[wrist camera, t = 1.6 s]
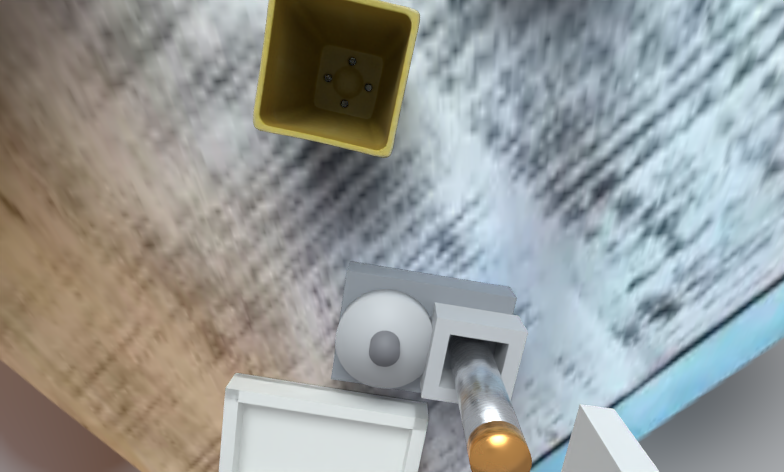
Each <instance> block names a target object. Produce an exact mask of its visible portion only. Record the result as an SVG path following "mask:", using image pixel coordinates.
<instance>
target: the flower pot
mask: <svg viewBox="0 0 784 472" xmlns="http://www.w3.org/2000/svg"><path fill="white" fill-rule="evenodd" d="M419 22H420V14H419V12H418V11H416V10H414V9H412V8H409V7H405V6H400V5H396V4H391V3H387V2H383V1H379V0H269V3H268V10H267V20H266V27H265V35H264V43H263V50H262V58H261V65H260V72H259V79H258V85H257V92H256V98H255V105H254V114H253V123H254V126H255V128H256V129H258V130H260V131H265V132H270V133H275V134H280V135H286V136H291V137H296V138H300V139H306V140H310V141H315V142H320V143H324V144H328V145H332V146H336V147H341V148H345V149H348V150H353V151H357V152H361V153H365V154H369V155H373V156H377V157H382V158H385V157H389V156H390V155H391V153H392V149H393V144H394V139H395V134H396V129H397V124H398V119H399V115H400V110H401V105H402V100H403V96H404V91H405V87H406V82H407V78H408V73H409V68H410V64H411V59H412V55H413V50H414V46H415V41H416V37H417V32H418V28H419ZM352 57H353V58H355V59H356V63H355V64H354V65H350V64H349V59H350V58H352ZM327 74H329V75H331V77H332V80H331V81H330V82H326V81H325V76H326V75H327ZM366 84H371V85H372V89H371V91H367V90H366V89H365V85H366ZM342 100H346V101H347V102H348V105H347V107H342V106H341V101H342Z"/></svg>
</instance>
